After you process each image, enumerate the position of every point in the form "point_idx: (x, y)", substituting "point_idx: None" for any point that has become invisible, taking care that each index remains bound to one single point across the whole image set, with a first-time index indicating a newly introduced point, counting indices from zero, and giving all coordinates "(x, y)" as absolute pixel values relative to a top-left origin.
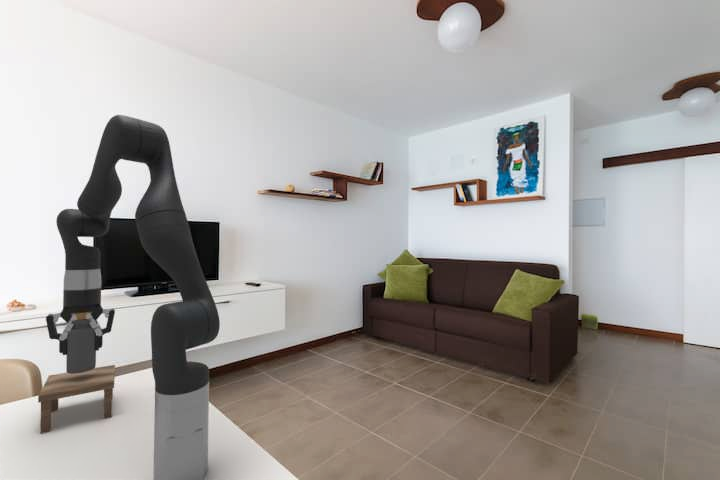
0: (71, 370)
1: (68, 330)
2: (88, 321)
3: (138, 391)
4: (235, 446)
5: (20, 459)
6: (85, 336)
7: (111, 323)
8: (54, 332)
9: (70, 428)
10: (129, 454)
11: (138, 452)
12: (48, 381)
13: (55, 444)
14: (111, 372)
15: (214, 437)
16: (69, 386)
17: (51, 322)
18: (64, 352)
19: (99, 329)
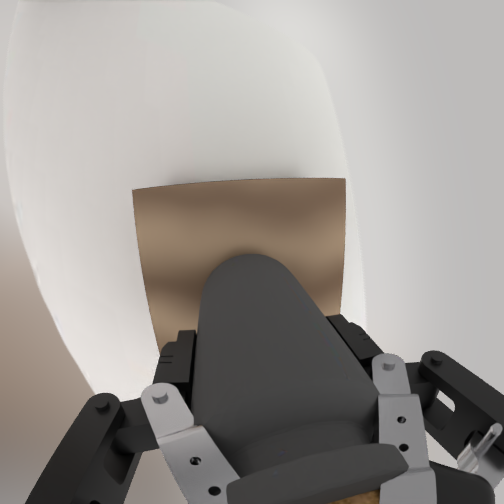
0: (281, 264)
1: (389, 397)
2: (247, 488)
3: (128, 319)
4: (25, 14)
5: (310, 87)
6: (250, 351)
7: (67, 444)
8: (446, 378)
9: (246, 173)
10: (136, 18)
11: (123, 19)
12: (334, 302)
13: (263, 109)
14: (156, 299)
15: (30, 38)
16: (271, 216)
17: (500, 415)
18: (337, 318)
19: (156, 423)
